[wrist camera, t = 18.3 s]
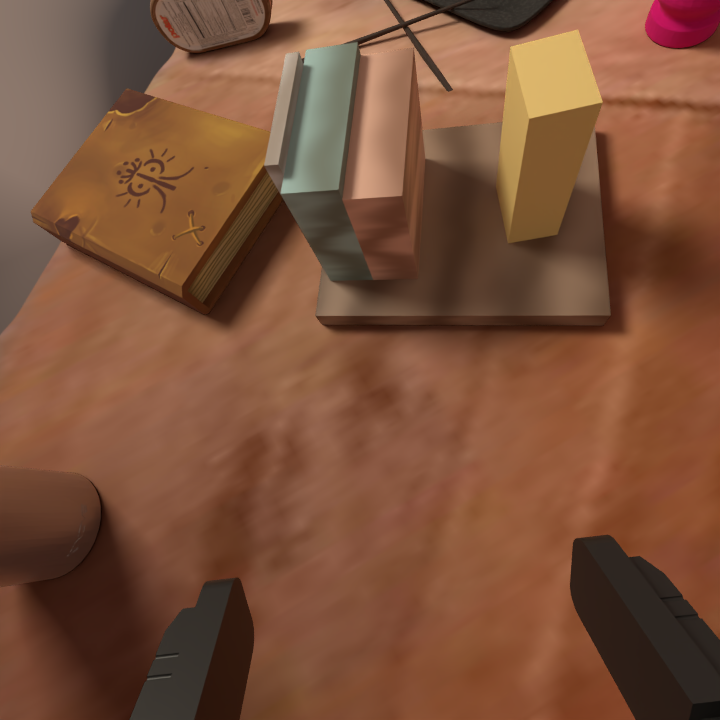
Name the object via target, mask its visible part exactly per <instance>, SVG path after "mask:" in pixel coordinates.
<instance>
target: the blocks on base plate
mask: <svg viewBox="0 0 720 720" xmlns="http://www.w3.org/2000/svg"><path fill="white" fill-rule="evenodd" d="M502 123H503V122H500V123H490V124H480V125H470V126H460V127H450V128H439V129H429V130H422V122H421V112H420V103H419V93H418V84H417V74H416V65H415V55H414V48H407V49H400V50H393V51H386V52H379V53H372V54H365V55H360V50H359V46H358V42H355V43H349V44H342V45H335V46H329V47H322V48H316V49H309V50H306V54H305V59H304V65H303V62H302V59H301V56H300V53H299V52H294V53H288V54H286V56H285V61H284V67H283V72H282V77H281V82H280V87H279V92H278V97H277V102H276V107H275V112H274V118H273V123H272V128H271V133H270V138H269V143H268V148H267V153H266V158H265V163H264V167H265V168H266V170H267V172H268V173H269V175H270V177H271V179H272V180H273V182H274V184H275V186H276V187H277V189H278V191H279V193H280V194H281V196H282V198H283V200H284V201H285V203H286V205H287V207H288V208H289V210H290V212H291V213H292V215H293V217H294V219H295V220H296V222H297V224H298V226H299V227H300V229H301V231H302V233H303V234H304V236H305V238H306V240H307V241H308V243H309V245H310V247H311V248H312V250H313V252H314V253H315V255H316V257H317V259H318V260H319V262H320V264H321V266H322V271H321V278H320V286H319V293H318V300H317V308H316V315H315V316H316V317H317V319H318V320H319V321H320V323H321V324H322V325H593V326H603V325H604V324H605V322H606V321H607V320H608V319H609V317H610V316H611V311H610V300H609V288H608V276H607V264H606V253H605V241H604V229H603V217H602V205H601V194H600V182H599V170H598V158H597V147H596V135H595V126H594V129H593V132H592V135H591V138H590V141H589V144H588V147H587V150H586V152H585V155H584V158H583V161H582V164H581V167H580V170H579V173H578V176H577V179H576V182H575V185H574V187H573V190H572V193H571V196H570V199H569V202H568V205H567V208H566V211H565V214H564V217H563V220H562V222H561V225H560V228H559V231H558V234H557V235H553V236H547V237H542V238H536V239H531V240H525V241H519V242H514V243H508V241H507V236H506V232H505V227H504V222H503V218H502V213H501V208H500V204H499V199H498V194H497V190H496V182H497V172H498V162H499V152H500V143H501V133H502Z"/></svg>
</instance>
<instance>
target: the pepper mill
mask: <svg viewBox="0 0 720 720" xmlns="http://www.w3.org/2000/svg"><path fill="white" fill-rule="evenodd" d="M719 23H720V0H655V1H654V2H653V4H652V7H651V9H650V12H649V14H648V17H647V20H646V23H645V30H646V32H647V35H648V36H649V37H650V39H651V40H652V41H654V42H656V43H658V44H659V45H662V46H665V47H671V48H683V47H690V46H693V45H697V44H699V43H701V42H703V41H705V40H706V39H708V38H709V37H710V36H711V35H712V34H713V33H714V32H715V31H716V29H717V27H718V25H719Z"/></svg>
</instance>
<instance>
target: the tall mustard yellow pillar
mask: <svg viewBox="0 0 720 720" xmlns="http://www.w3.org/2000/svg"><path fill="white" fill-rule="evenodd" d="M602 103H603V102H602V99H601V96H600V93H599V90H598V87H597V84H596V81H595V78H594V75H593V72H592V69H591V66H590V64H589V61H588V58H587V55H586V52H585V49H584V46H583V43H582V40H581V37H580V34H579V31H578V30H575V31H571V32H567V33H563V34H559V35H555V36H551V37H547V38H543V39H539V40H535V41H531V42H527V43H523V44H520V45H516V46H512V47H510V55H509V65H508V75H507V84H506V94H505V104H504V114H503V123H502V133H501V143H500V152H499V162H498V172H497V182H496V190H497V194H498V199H499V204H500V208H501V213H502V218H503V222H504V227H505V232H506V236H507V241H508V243H514V242H519V241H525V240H531V239H536V238H542V237H547V236H553V235H557V234H558V231H559V228H560V225H561V222H562V220H563V217H564V214H565V211H566V208H567V205H568V202H569V199H570V196H571V193H572V190H573V187H574V185H575V182H576V179H577V176H578V173H579V170H580V167H581V164H582V161H583V158H584V155H585V152H586V150H587V147H588V144H589V141H590V138H591V135H592V132H593V129H594V126H595V123H596V120H597V117H598V115H599V112H600V109H601V106H602Z"/></svg>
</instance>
